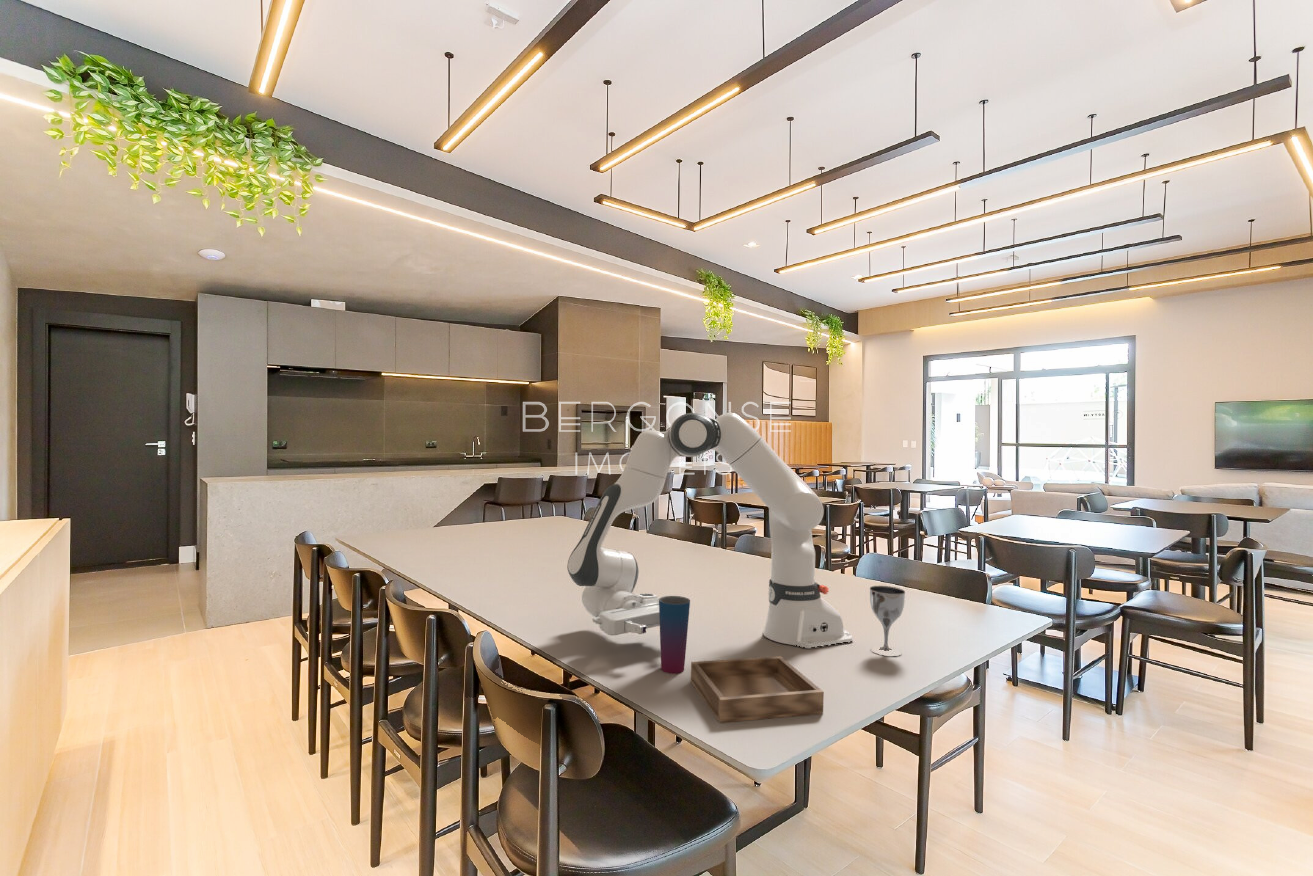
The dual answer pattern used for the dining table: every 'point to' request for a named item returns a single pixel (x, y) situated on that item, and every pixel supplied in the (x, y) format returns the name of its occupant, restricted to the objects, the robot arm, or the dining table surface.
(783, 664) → the tray
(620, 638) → the dining table surface
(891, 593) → the wine glass
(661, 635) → the cup
